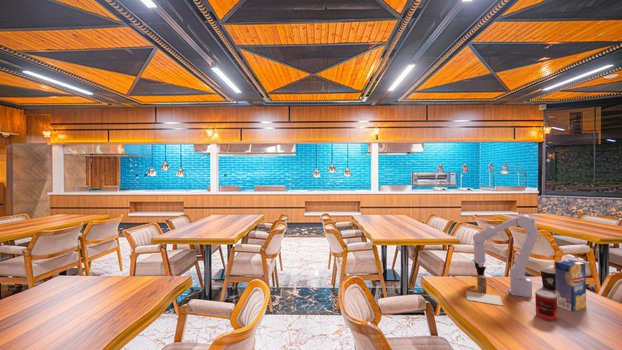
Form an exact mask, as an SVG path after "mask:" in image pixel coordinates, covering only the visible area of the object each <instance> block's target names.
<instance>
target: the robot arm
mask: <svg viewBox="0 0 622 350" xmlns="http://www.w3.org/2000/svg"><path fill="white" fill-rule="evenodd" d="M511 227H516V228H517V227H520V228H521V229H523V230H524V232H525V233H526V237H525V239H524V242H523V244H522V247H521V250H520V252H519V254H518V256H517V259H516V261H515V263H514V264H512V266H511V269H510V271H509V273H510V276H509V278H510V279H509V280H510V281H509V283H510V284H509V285H510V286H509V287H510V288H508V291H509V293H510V295H512V296H517V297H525V298H530V299H531V298H533V283H532V279H531V278H527V277H526V276H525V274H526V271H527V270H526V266H527V263H528V261H529V258H530V256H531V254H532V251H533V249H534V247H535V244H536V242H537V239H538V237H539V230H538V228H537V224H536V222H535V220H534V218H532V216H531V215H529V214H526V213H525V214H523V213H522V214H521V215H518V216H514V217H512V218H510V219H508V220H506V221H504V222H502V223H500V224H498V225H496V226H491V225H490V226H489V225H488V226H486V228H484V229H483V230H478V232H476V233H475V234H473V236H472V239H473V258H471V261H472V262H473V263H474V267H475V270H476V272H477V273H476V274H477V275H484V273H485V271H486V270H487V266H484V264H485V263H486V246H485V245H486V244H485V242H486V241H488V240H489V239H493V238H494V237H496V236H498V233H499V232H501V231H503V230H505V229H509V228H511Z"/></svg>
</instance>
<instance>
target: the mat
mask: <svg viewBox="0 0 622 350" xmlns="http://www.w3.org/2000/svg"><path fill="white" fill-rule="evenodd" d="M465 295H466V301H468V302H474V301H476V303H483V304H486V305H487V304H489V305H494V306H502V307H504V304H503V301H502V299H501V296H500V295H494V294H488V293H486V294H482V293H478V292H475V291H467V290H466V291H465Z"/></svg>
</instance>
